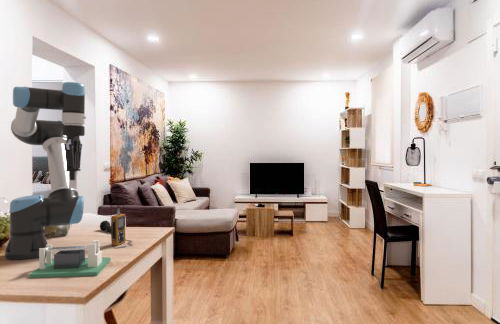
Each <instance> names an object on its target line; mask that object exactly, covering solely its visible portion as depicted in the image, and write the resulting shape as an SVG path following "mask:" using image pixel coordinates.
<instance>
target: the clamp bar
mask: <svg viewBox="0 0 500 324" xmlns="http://www.w3.org/2000/svg"><path fill="white" fill-rule="evenodd" d="M84 249H85V250H88V245H75V246H73V245H72V246H71V245H70V246H56V247H55V246H52V247H51V248H50V246H46V247H45V252H47V251H52V252H59V251H65V250H84Z"/></svg>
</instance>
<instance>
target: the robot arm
mask: <svg viewBox="0 0 500 324" xmlns="http://www.w3.org/2000/svg"><path fill="white" fill-rule="evenodd" d="M85 90H86V89H85V85H84V84H83V83H81V82H80V83H79V82H73V81H71V82H70V81H66V82H63V83H62V89H60V90H59V89H50V88H39V87H29V86H15V87H13V88H12V105H13V106H14V107H15V108H16V113H15V117H14V119H13V120H12V121H11V124H10V131H11V134H12V135H14V138H16V139H17V140H19V141H21V142H22V143H24V144H27V145H31V146H42V149H43V150H44V151H45V152H46V155H47V163H48V173H49V174H48V175H49V180H50V181H49V182H50V191H51V192H49V193H48V195H47V197H45V195H44V194H32V195H31V194H30V195H25V196H20V197H17V198H14V199H12V200H11V201H10V203H9V238H8V241H7V245H6V247H5V250H4V259H7V260H12V261H13V260H17V261H18V260H28V259H35V258H39V249H40V248H45V247H46V245H47V244H49V243H48V241H47V239H46V238H45V235H44V227H47V226H58V225H70V226H71V225H75V224H79V223H81V221H82V219H83V215H84V207H85V200H84V199H85V198H84V196H83V195H79V192H78V191H77V189H79V172H81V161H82V160H81V158H82V149H83V148H82V147H83V144H82V143H81V139H80V137H84V136H85V126H84V125H85V120H86V119H87V117H86V116H85V110H86V109H85V101H86V98H85V97H86V92H85ZM40 110H58V111H61V120H45V119H43V120H41V119H38V116H39V112H40ZM45 256H46V252H45Z"/></svg>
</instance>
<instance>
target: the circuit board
mask: <svg viewBox="0 0 500 324" xmlns="http://www.w3.org/2000/svg"><path fill="white" fill-rule="evenodd" d="M100 241H101V240H98V239H97V240H96V239H95V240H92V241H91V243H88V244H87V246H88V249H87V257H85V262H84V263H83V264H82V265H81V266H80V267H79V268H69V269H53V266H54V258H53V251H47V252H46V255H45V248H40V249H39V257H38V258H39V259H38V260H39V261H38V263H39V264H38V266H39V267H37V268H36V269H35V270H34V271H32V272H31V273H29V278H30V279H34V278H35V279H36V278H37V279H39V278H60V277H61V278H64V277H66V278H67V277H92V276H93V277H94V276H95V277H96V276H98V275H100V273H101V271H103V269H104V268H105V267H106V266H107V265H108V264H109V263H110V261H111V257H110V256H108V257H105V256H104V257H103V250H100V247H101V246H100V245H101V244H100V243H101V242H100ZM46 246H50V248H51V247H53V244H52V243H50V244H49V243H48V244H47V245H46Z"/></svg>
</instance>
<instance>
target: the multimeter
mask: <svg viewBox="0 0 500 324" xmlns="http://www.w3.org/2000/svg"><path fill="white" fill-rule="evenodd" d="M120 200H121V201H122V203H123V204H122V205H123V207H122V212H123V213H121V212H120V209H121V208H120V207H118V208H117V212H116V214H115V215H111V222H110V226H111V233H110V236H111V237H110V238H111V246H112V248H113V249H116V246H118V247H117V249H120V248H126V247H130V246H135V245H134V244H133V243H132V240H128V239H126V214H125V210H124V209H125V203H124V199H121V198H118V200H115V202H116V204H117V205H119V203H120ZM113 203H114V201H112V202H111V204H110V209H112V206H113ZM125 242H127V244H128V245H122V246H119V245H121V244H124V243H125Z"/></svg>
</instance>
